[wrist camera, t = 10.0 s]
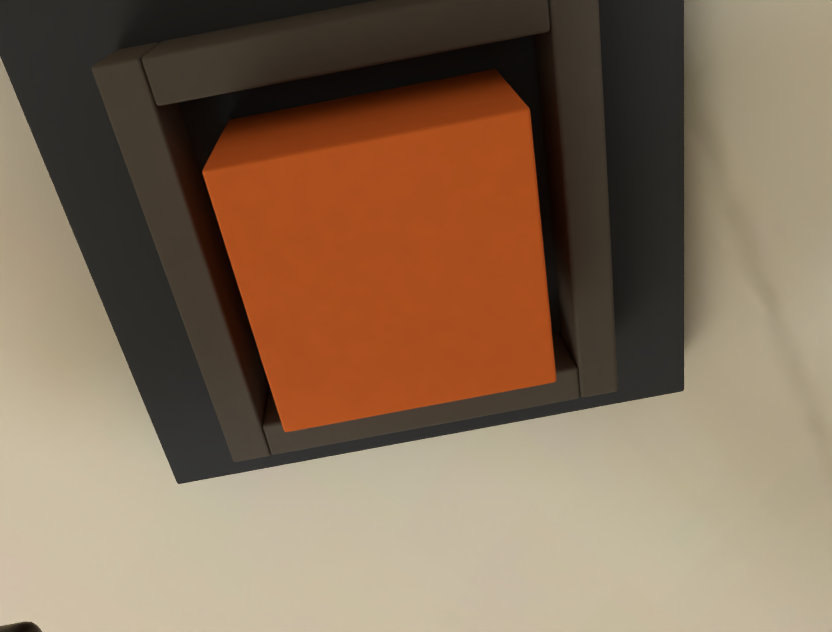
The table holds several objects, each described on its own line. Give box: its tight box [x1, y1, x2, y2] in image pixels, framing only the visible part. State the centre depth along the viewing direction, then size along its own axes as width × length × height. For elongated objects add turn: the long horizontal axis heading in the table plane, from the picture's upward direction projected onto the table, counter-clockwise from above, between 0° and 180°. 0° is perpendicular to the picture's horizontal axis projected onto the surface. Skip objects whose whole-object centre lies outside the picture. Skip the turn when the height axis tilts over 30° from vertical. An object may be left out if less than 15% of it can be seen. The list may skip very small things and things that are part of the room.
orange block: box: [202, 69, 556, 432], centre depth 14 cm, size 5×5×3 cm
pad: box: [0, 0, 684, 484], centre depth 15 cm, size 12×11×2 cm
